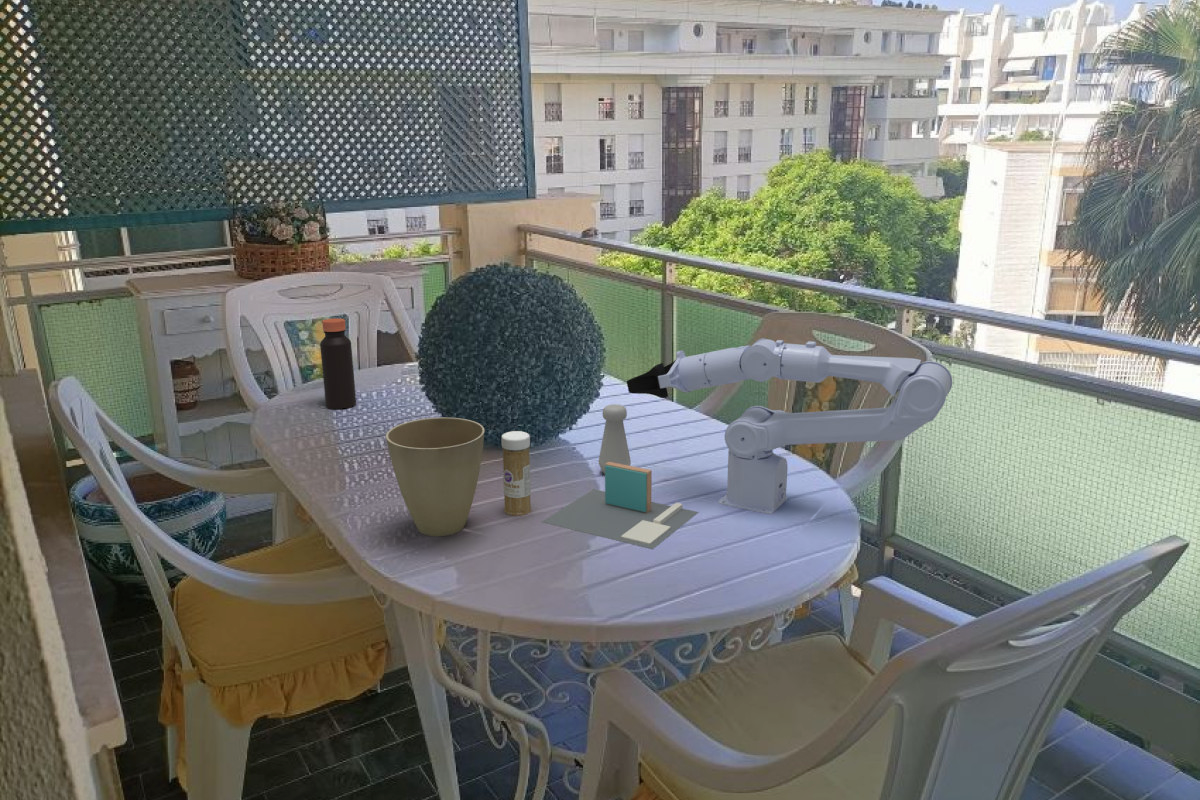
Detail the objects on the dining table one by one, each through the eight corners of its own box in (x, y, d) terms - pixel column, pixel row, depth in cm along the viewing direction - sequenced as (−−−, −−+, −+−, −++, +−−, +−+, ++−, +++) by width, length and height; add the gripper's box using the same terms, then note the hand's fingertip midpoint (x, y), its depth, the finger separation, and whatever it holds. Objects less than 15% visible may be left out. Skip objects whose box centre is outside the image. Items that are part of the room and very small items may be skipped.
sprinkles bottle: (499, 515, 149) (495, 436, 145) (512, 505, 153) (510, 428, 149) (523, 519, 147) (521, 440, 143) (537, 509, 151) (534, 432, 147)
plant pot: (375, 527, 144) (367, 432, 140) (452, 501, 154) (447, 411, 150) (428, 557, 134) (422, 454, 130) (507, 527, 144) (504, 431, 140)
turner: (665, 504, 151) (665, 500, 151) (693, 510, 149) (693, 506, 148) (620, 538, 139) (620, 533, 139) (649, 545, 136) (649, 540, 136)
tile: (651, 510, 149) (651, 470, 147) (646, 513, 148) (646, 473, 146) (609, 500, 153) (608, 461, 151) (604, 504, 152) (604, 464, 150)
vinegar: (348, 399, 215) (341, 316, 209) (361, 406, 210) (354, 320, 204) (321, 405, 211) (312, 320, 205) (333, 411, 206) (325, 324, 200)
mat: (698, 514, 148) (698, 512, 148) (652, 551, 135) (652, 549, 135) (593, 491, 158) (593, 489, 158) (541, 523, 145) (541, 521, 145)
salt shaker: (593, 476, 165) (592, 408, 161) (607, 467, 170) (607, 400, 166) (622, 482, 162) (622, 412, 159) (636, 471, 167) (636, 404, 164)
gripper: (720, 340, 156) (650, 355, 163) (689, 351, 144) (614, 366, 150) (729, 381, 157) (659, 393, 163) (698, 394, 144) (623, 407, 151)
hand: (638, 383), depth 157 cm, fingers open, 7 cm apart
